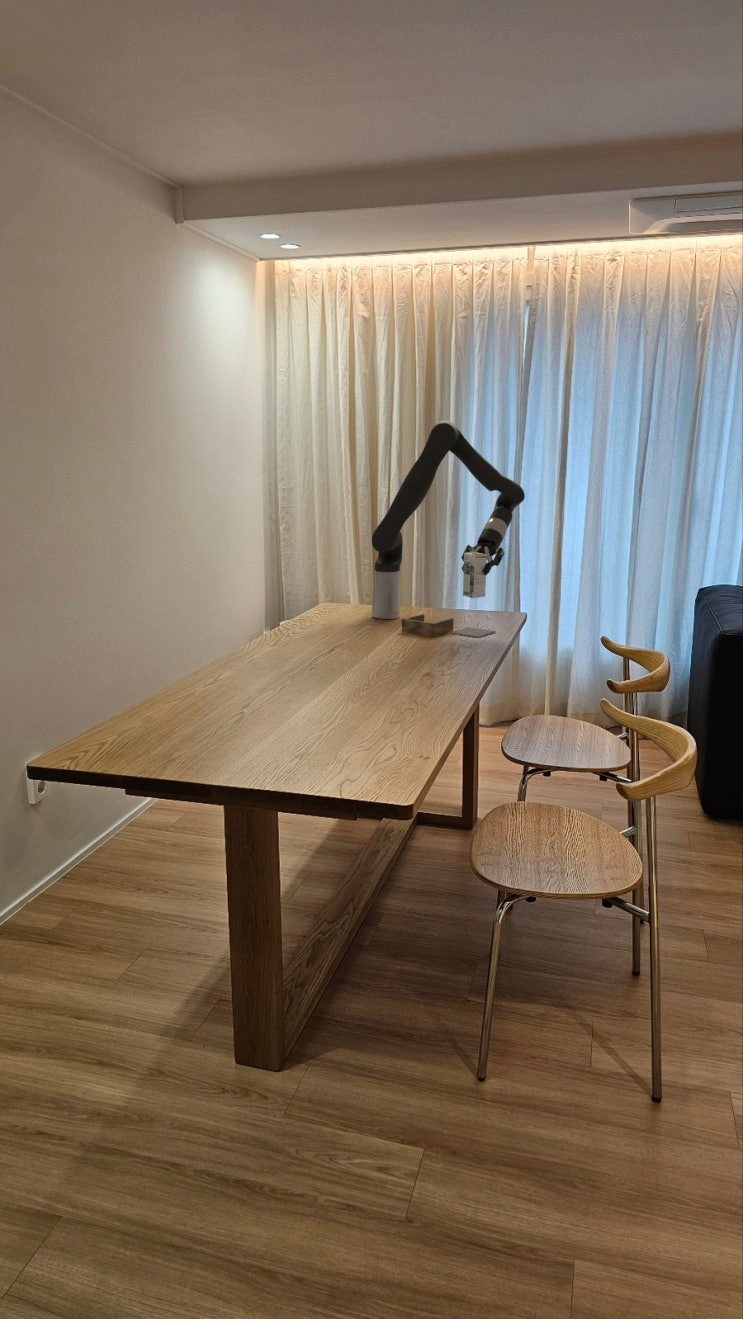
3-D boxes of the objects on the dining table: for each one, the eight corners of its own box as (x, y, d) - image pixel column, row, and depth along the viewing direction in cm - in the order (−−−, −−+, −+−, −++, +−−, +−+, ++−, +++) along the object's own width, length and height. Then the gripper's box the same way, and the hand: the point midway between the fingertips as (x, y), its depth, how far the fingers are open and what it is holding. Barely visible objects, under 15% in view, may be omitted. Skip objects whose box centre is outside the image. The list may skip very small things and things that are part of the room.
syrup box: (462, 595, 311) (462, 552, 307) (477, 594, 313) (478, 551, 310) (470, 598, 306) (471, 554, 302) (486, 597, 308) (487, 553, 305)
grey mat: (450, 633, 311) (450, 632, 311) (467, 628, 320) (467, 627, 320) (478, 638, 305) (478, 636, 304) (495, 632, 313) (495, 631, 313)
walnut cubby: (401, 632, 314) (401, 619, 313) (421, 626, 323) (421, 613, 322) (433, 637, 306) (433, 623, 305) (453, 631, 315) (453, 618, 314)
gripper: (470, 526, 315) (451, 563, 309) (507, 528, 306) (488, 567, 300) (478, 540, 320) (459, 577, 314) (515, 543, 312) (496, 581, 305)
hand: (474, 572), depth 307 cm, fingers closed on syrup box, 7 cm apart
